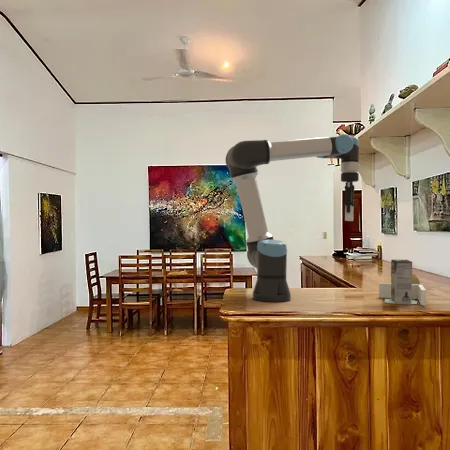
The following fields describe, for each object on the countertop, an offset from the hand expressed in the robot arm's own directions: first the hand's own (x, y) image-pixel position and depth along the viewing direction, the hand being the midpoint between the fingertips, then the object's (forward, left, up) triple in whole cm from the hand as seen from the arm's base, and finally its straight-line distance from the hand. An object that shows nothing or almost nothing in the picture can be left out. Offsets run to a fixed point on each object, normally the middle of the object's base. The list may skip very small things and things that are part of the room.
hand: (349, 220), depth 212 cm
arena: (+21, -17, -32) cm, 42 cm away
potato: (+24, +1, -32) cm, 40 cm away
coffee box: (+21, -19, -32) cm, 43 cm away
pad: (+21, -19, -32) cm, 43 cm away
